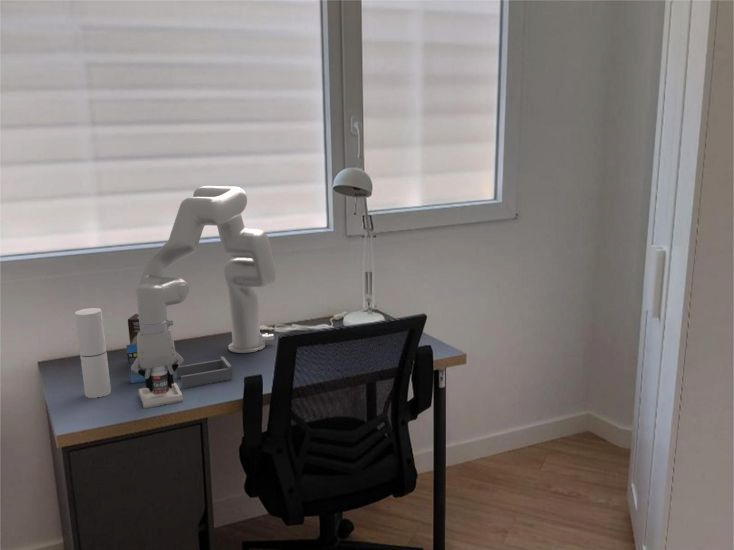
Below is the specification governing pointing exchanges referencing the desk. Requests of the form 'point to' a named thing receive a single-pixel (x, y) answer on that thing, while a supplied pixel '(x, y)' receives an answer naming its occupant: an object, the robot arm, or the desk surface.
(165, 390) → the pill bottle
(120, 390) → the desk surface
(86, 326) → the cylindrical container
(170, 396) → the tray
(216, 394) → the desk surface
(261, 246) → the robot arm
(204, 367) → the bay
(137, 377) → the label tape cartridge
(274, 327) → the desk surface
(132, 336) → the coffee box
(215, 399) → the desk surface
